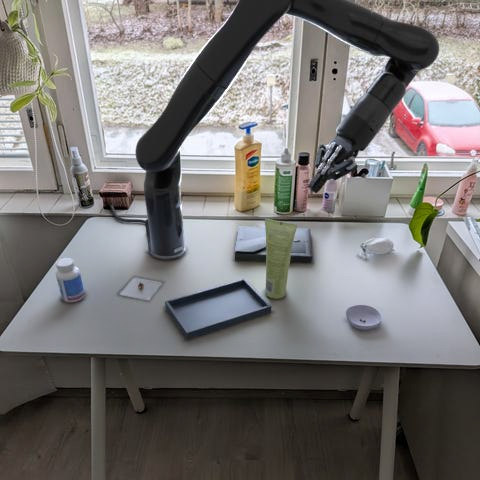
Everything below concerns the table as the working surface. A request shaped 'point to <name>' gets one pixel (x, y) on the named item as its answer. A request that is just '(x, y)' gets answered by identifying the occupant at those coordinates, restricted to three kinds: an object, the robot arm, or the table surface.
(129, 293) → the square paper sheet
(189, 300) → the tray
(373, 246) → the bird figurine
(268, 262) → the tube
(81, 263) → the table surface
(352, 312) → the small lavender dish
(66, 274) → the pill bottle
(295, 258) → the picture frame
